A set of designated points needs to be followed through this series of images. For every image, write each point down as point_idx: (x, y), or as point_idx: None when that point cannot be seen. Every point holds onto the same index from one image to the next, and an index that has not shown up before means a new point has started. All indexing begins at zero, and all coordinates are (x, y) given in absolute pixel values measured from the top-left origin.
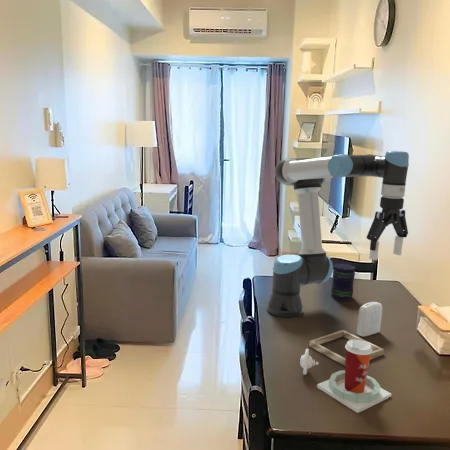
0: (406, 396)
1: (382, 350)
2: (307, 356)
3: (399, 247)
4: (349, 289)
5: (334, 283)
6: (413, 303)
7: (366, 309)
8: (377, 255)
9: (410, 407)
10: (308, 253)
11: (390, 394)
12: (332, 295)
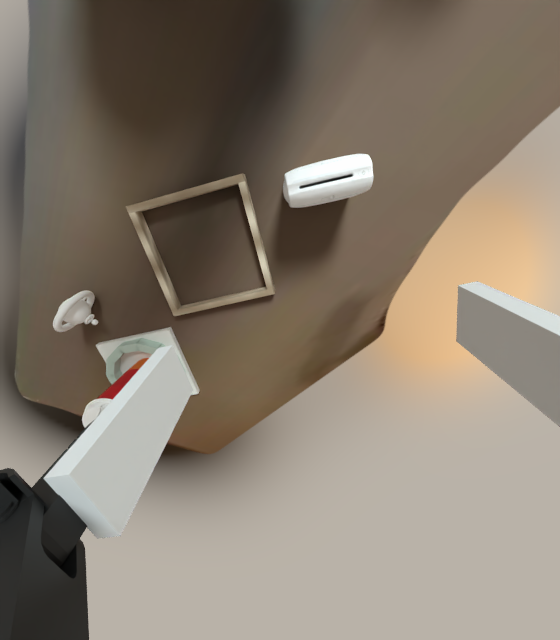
0: (222, 395)
1: (270, 294)
2: (58, 330)
3: (504, 367)
4: None
5: None
6: None
7: (291, 203)
8: (178, 413)
9: (210, 412)
10: None
11: (196, 393)
12: None
